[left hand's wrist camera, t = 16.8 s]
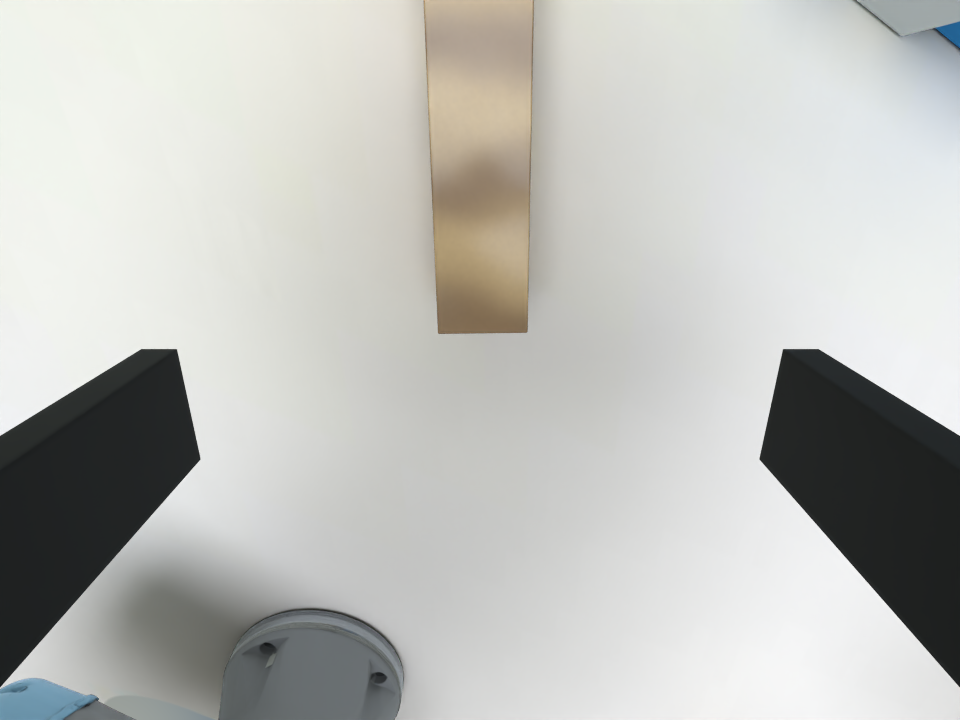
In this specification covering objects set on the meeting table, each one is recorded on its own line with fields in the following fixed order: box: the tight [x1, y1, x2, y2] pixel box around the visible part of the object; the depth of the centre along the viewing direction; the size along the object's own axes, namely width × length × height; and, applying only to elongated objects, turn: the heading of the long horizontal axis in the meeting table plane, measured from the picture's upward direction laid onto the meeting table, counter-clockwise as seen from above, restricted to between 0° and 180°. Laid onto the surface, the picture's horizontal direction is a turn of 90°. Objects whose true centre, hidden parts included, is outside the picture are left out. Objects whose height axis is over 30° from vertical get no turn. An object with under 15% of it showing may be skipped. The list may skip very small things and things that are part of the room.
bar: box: [424, 0, 534, 334], centre depth 29 cm, size 24×5×8 cm, turn 1°
